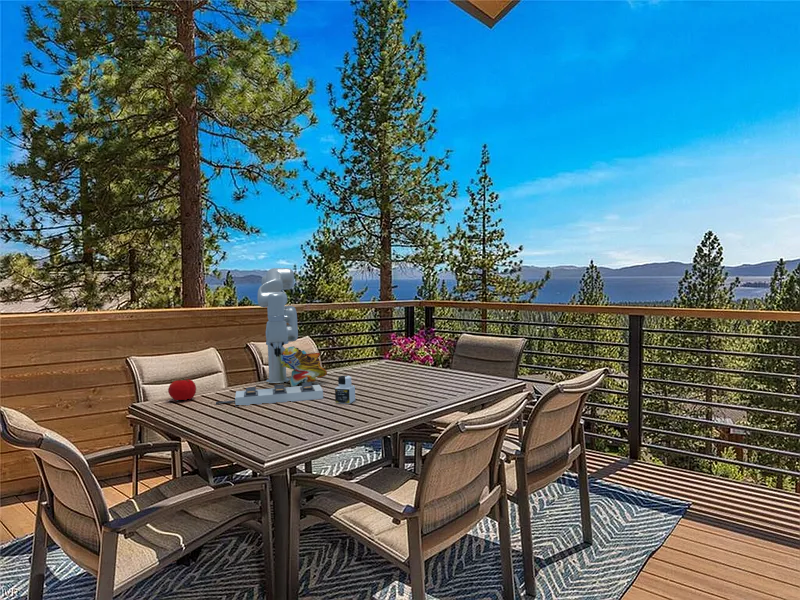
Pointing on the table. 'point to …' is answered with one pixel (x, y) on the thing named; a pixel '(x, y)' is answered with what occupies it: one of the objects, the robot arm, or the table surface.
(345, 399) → the medicine bottle
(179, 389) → the tomato
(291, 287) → the robot arm
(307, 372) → the multicoloured irregular chunky piece
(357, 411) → the table surface
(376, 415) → the table surface
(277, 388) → the rocker middle
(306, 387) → the rocker
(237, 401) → the rocker switch panel
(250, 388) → the rocker
